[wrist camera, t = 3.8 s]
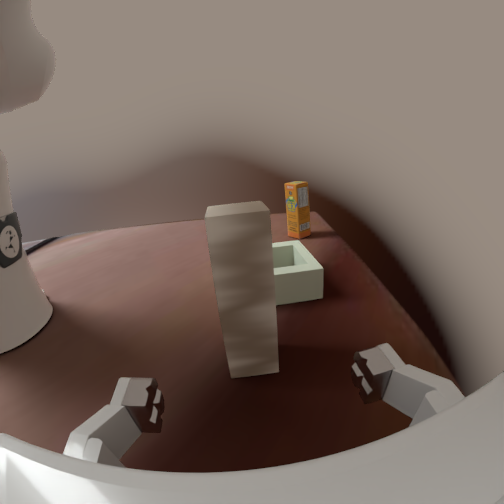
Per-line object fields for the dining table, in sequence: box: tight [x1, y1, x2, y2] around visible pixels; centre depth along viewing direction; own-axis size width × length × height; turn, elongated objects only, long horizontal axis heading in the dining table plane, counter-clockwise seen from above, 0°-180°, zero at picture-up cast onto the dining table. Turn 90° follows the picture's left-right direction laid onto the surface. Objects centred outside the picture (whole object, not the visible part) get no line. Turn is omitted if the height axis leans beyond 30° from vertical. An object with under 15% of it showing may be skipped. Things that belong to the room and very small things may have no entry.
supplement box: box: [285, 181, 311, 239], centre depth 49 cm, size 3×3×10 cm
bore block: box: [272, 240, 324, 305], centre depth 33 cm, size 9×10×4 cm
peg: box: [205, 201, 279, 378], centre depth 19 cm, size 4×4×12 cm
